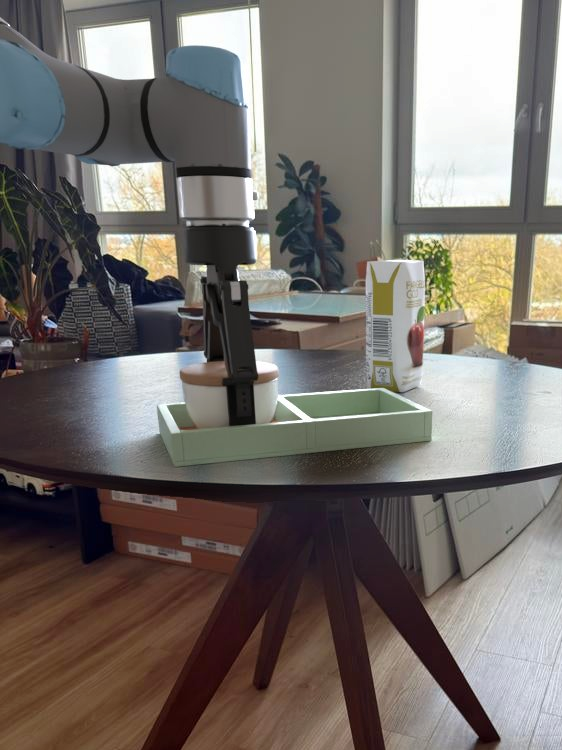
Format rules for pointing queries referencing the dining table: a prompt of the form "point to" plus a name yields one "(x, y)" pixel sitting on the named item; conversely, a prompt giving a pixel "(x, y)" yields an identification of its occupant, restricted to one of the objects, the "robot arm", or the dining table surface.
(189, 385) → the trinket box
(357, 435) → the divided tray
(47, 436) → the dining table surface
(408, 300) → the juice carton
